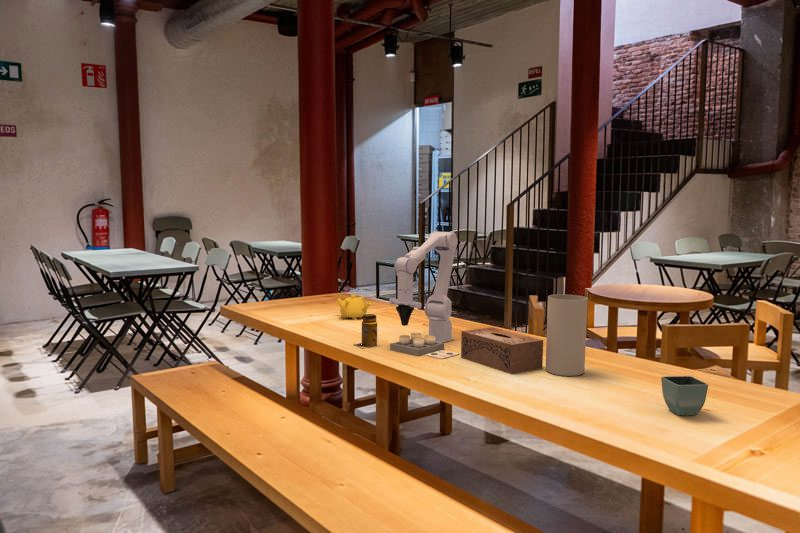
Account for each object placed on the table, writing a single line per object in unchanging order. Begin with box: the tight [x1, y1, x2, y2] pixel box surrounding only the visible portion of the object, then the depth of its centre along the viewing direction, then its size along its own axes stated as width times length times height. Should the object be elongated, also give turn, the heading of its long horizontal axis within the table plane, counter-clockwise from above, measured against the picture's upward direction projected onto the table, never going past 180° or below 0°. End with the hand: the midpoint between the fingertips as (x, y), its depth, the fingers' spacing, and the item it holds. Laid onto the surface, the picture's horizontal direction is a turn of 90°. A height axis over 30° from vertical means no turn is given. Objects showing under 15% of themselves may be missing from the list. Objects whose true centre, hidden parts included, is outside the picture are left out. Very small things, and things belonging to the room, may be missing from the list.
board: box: [389, 338, 445, 357], centre depth 240 cm, size 15×14×2 cm
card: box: [424, 349, 460, 360], centre depth 232 cm, size 10×8×1 cm
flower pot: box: [660, 375, 709, 416], centre depth 169 cm, size 9×9×9 cm
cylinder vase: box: [545, 294, 589, 377], centre depth 209 cm, size 12×12×25 cm
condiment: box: [353, 313, 382, 349], centre depth 245 cm, size 7×8×12 cm
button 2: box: [410, 332, 422, 342], centre depth 244 cm, size 4×4×3 cm
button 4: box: [424, 334, 435, 345], centre depth 239 cm, size 4×4×3 cm
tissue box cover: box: [460, 326, 544, 375], centre depth 221 cm, size 26×14×10 cm, turn 34°
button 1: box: [398, 334, 411, 345], centre depth 239 cm, size 4×4×3 cm
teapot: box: [336, 294, 372, 320], centre depth 304 cm, size 20×18×11 cm
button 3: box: [413, 337, 425, 348], centre depth 235 cm, size 4×4×3 cm
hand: (404, 325), depth 239 cm, fingers closed
